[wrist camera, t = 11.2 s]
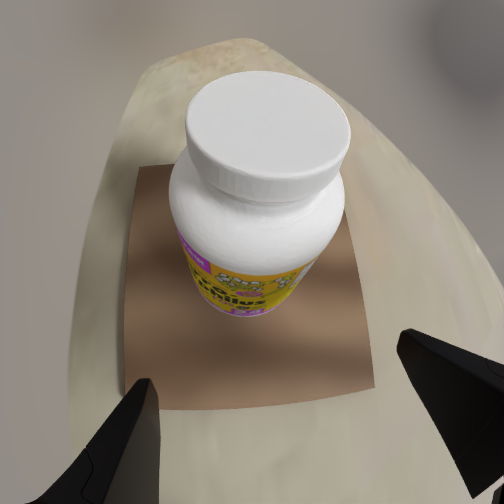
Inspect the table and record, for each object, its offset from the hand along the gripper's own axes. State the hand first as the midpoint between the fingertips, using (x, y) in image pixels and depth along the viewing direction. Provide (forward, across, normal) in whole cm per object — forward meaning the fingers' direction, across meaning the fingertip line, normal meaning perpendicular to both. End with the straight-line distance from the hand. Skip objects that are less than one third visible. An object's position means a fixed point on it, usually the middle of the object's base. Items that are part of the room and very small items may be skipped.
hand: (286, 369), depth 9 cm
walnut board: (+11, 0, +2) cm, 11 cm away
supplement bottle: (+11, 0, +1) cm, 11 cm away
